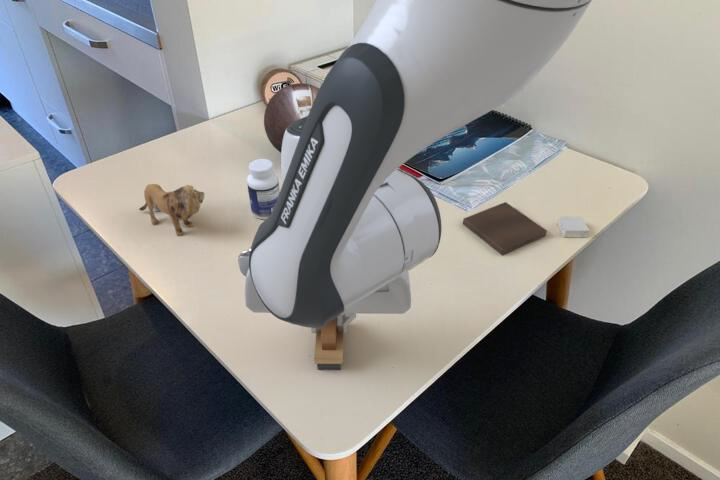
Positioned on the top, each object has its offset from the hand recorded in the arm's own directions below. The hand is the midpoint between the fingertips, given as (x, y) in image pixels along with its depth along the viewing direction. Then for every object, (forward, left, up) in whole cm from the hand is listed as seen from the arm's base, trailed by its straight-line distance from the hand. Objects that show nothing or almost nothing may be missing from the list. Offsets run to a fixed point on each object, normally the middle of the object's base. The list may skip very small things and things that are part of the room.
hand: (330, 329), depth 68 cm
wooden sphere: (+48, -20, -3) cm, 52 cm away
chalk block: (+1, -48, -3) cm, 48 cm away
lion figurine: (+38, +10, -3) cm, 39 cm away
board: (+7, -38, -3) cm, 39 cm away
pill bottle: (+33, -5, -3) cm, 33 cm away
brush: (0, 0, -3) cm, 3 cm away
